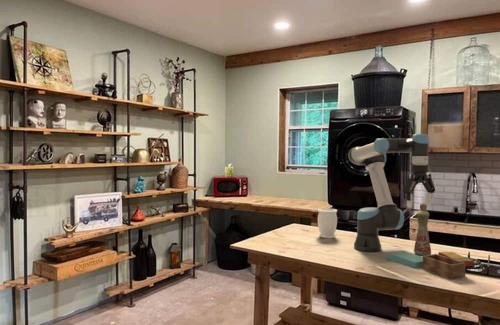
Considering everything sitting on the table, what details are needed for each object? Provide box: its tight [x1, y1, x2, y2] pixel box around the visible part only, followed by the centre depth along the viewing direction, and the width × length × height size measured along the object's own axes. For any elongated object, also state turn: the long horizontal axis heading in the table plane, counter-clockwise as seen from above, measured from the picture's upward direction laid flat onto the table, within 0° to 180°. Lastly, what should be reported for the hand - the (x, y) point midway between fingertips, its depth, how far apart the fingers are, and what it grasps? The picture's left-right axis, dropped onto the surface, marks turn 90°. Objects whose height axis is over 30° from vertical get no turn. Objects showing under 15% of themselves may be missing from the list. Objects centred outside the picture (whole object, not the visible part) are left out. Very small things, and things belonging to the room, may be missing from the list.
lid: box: [387, 250, 423, 269], centre depth 183 cm, size 17×11×4 cm, turn 25°
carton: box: [438, 251, 475, 266], centre depth 182 cm, size 8×16×4 cm, turn 5°
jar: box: [317, 207, 338, 239], centre depth 238 cm, size 13×12×18 cm
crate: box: [422, 253, 467, 281], centre depth 166 cm, size 15×9×7 cm, turn 25°
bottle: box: [413, 203, 432, 256], centre depth 198 cm, size 9×9×28 cm
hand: (419, 206), depth 184 cm, fingers open, 13 cm apart
